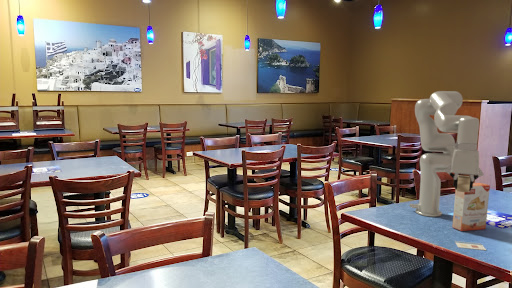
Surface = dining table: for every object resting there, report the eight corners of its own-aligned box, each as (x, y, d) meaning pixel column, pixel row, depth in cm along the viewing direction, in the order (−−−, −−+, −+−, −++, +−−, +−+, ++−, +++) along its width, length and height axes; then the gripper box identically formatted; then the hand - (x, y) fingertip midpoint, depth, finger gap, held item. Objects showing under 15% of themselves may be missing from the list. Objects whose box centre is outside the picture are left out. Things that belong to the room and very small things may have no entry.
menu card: (458, 247, 154) (458, 246, 154) (454, 241, 161) (454, 240, 161) (486, 250, 152) (486, 249, 152) (481, 244, 158) (481, 243, 158)
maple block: (456, 191, 163) (458, 177, 162) (456, 188, 167) (457, 175, 166) (468, 192, 161) (470, 178, 160) (467, 189, 165) (469, 176, 164)
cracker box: (461, 232, 173) (465, 186, 170) (451, 227, 179) (454, 183, 176) (486, 229, 176) (490, 184, 174) (476, 225, 182) (479, 182, 180)
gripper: (444, 146, 161) (441, 189, 164) (491, 149, 155) (486, 193, 157) (443, 144, 168) (440, 184, 171) (488, 147, 161) (484, 189, 164)
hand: (462, 188), depth 164 cm, fingers closed on maple block, 4 cm apart
